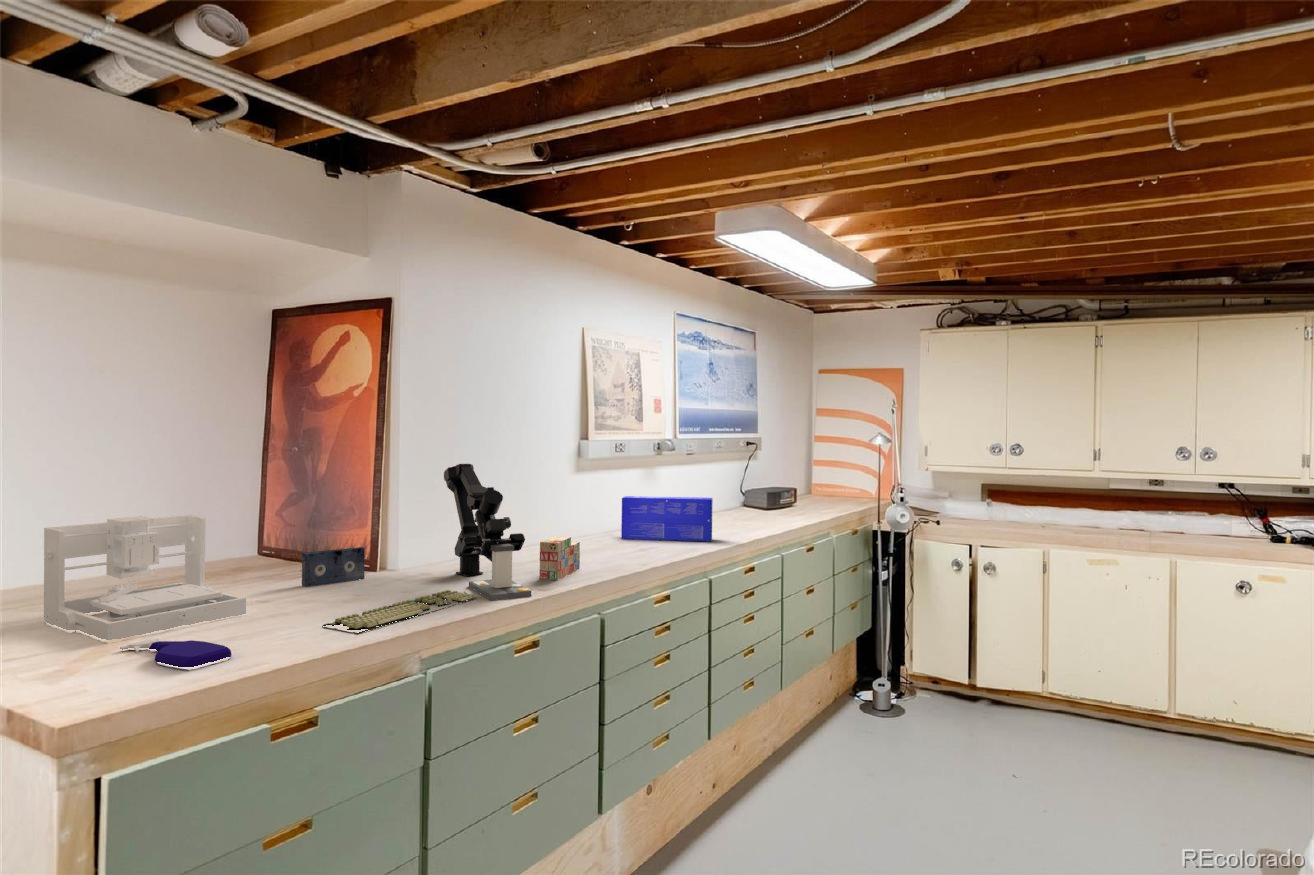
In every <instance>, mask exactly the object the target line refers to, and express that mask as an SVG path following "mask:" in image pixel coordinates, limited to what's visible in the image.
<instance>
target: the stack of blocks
mask: <svg viewBox="0 0 1314 875" xmlns="http://www.w3.org/2000/svg"><path fill="white" fill-rule="evenodd" d="M580 543H581V542H580V541H572V536H559V535H554V536H551V537H548V538H546V539H544V540H541V541H540V543H539V580H543V579H552V580H551V581H559V580H561V579H563V578H565V577H567V576H569V575H570V574H573V571H574V572H575V571H577V570H579V569H580V567H581V566H580V565H581V564H580V563H581V562H580V560H581V551H580V546H581V545H580ZM566 575H567V576H566ZM558 579H559V580H558Z"/></svg>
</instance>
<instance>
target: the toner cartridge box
mask: <svg viewBox="0 0 1314 875" xmlns="http://www.w3.org/2000/svg"><path fill="white" fill-rule="evenodd" d="M713 501H714V499H713V497H701V496H700V497H699V496H698V497H695V496H694V497H693V496H692V497H690V496H642V495H641V496H639V495H638V496H637V495H625V496H623V497H622V498H621V529H620V531H621V532H620V533H621V535H620V536H621V540H633V541H634V540H635V541H663V540H675V541H674V542H682V541H684V542H709V541H711V542H712V541H713ZM676 540H678V541H676Z"/></svg>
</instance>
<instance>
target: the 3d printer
mask: <svg viewBox="0 0 1314 875" xmlns="http://www.w3.org/2000/svg"><path fill="white" fill-rule="evenodd" d="M43 530H44V531H43V533H44V534H43V535H44V536H43V537H44V538H43V542H44V543H43V618H44V621H45V623H46V622H47V623H49V624H51V625H56V626H58V627H61V628H63V629H66V630H80V631H82V632H84V633H87V634H89V635H94V636H96V637H98V638H101V639H106V640H112V639H121V638H126V637H130V636H134V635H142V634H146V633H151V632H154V631H159V630H166V629H170V628H174V627H178V626H182V625H191V624H195V623H199V622H203V621H212V620H216V619H221V618H226V617H230V616H238V615H242V614H246V615H247V597H244V596H239V595H235V594H230V593H227V592H224V591H222V590H218V589H217V590H216V589H214V588H213V587H209V586H206V585H205V584H206V517H205V516H198V515H192V514H188V515H173V516H164V517H147V516H142V515H141V516H140V515H138V516H129V517H117V518H115V517H114V518H107V519H106V522H97V523H85V524H75V525H73V524H72V525H62V526H52V527H44V528H43ZM182 545H183V546H184V550H185V551H184V552H177V553H168V554H160V548H166V547H168V548H169V547H175V546H182ZM100 555H106V562H98V563H91V564H89V563H88V564H82V565H74V566H66V567H65V565H66V564H65V559H67V560H68V559H75V558H83V557H84V558H85V557H90V556H91V557H92V556H93V557H94V556H100ZM183 555H184V582H176V583H175V582H174V583H169V584H163V585H156V586H150V587H145V588H144V587H143V588H138V586H139V582H138V581H132V582H130V583H128V584H126V585H123V584H122V583H120V584H117V585H114V586H113V587H112V588H111V589H110V588H109V589H108V590H107V593H106V594H100V595H95V596H87V597H82V598H81V597H80V598H75V599H70V600H65V576H66V575H65V571H67V570H76V569H77V570H78V569H83V568H90V567H98V566H106V576H108V577H113V578H117V579H128V578H135V577H142V576H147V575H148V576H149V575H155V574H156V568H151V567H149V566H152V565H159V564H160V558H161V559H162V558H167V557H168V558H169V557H176V556H183ZM103 610H106V611H108V612H107V617H108V618H111V619H116V618H122V617H126V619H121V620H115V621H109V620H106V619H103V618H101V617H97V616H95V615H88V614H85V613H90V612H100V611H103Z"/></svg>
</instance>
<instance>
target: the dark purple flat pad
mask: <svg viewBox="0 0 1314 875" xmlns="http://www.w3.org/2000/svg"><path fill="white" fill-rule="evenodd" d="M128 648H134V649H135V650H136V651H135V652H136V653H138V652H139V651H140V650H139V648H149V649H156V650H157V651H158V652H156V654H155V655H154V662H155V663H156V662H161V663H165V664H169V665H173V666H178V667H194V666H198V665H202V664H205V663H208V662H214V661H217V660H220V659H223V658H226V657H231V658H232V650H231V649H230V648H229V647H227V646H226V645H223V644H217V643H215V642H214V643H213V642H207V641H203V640H193V639H192V640H191V639H190V640H183V641H182V640H180V641H178V640H175V641H173V640H172V641H171V640H168V641H167V640H160V638H159V637H158V638H157V637H156V638H152V639H146V640H141V641H136V642H132V643H129V644H126V645H122V646H120V648H119V650H120V649H122V650H123V649H128Z"/></svg>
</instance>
